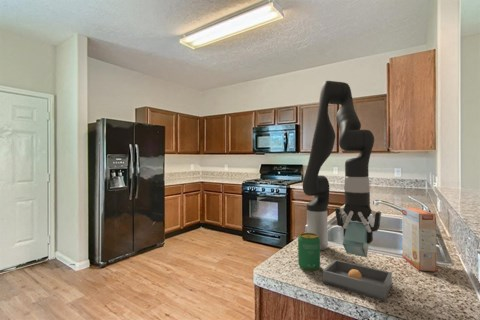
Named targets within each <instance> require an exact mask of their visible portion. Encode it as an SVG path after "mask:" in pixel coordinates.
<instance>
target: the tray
mask: <svg viewBox="0 0 480 320" xmlns="http://www.w3.org/2000/svg"><path fill="white" fill-rule="evenodd" d="M352 269H356V270H358V271H359V272H360V273H361V275H362V279H361V280H360V279H356V278H352V277H348V273H349V271H350V270H352ZM322 283H323V284H325V285H328V286H332V287H335V288H338V289H342V290H344V291H349V292H352V293H355V294H359V295H362V296H365V297H369V298H372V299H376V300H379V301H382V302H387V299H388V296H389V293H390V291H391V289H392V286H393V272H391V271H387V270H382V269H377V268H373V267H370V266H364V265H361V264H357V263H356V264H355V263H352V262H348V261H347V262H346V261H342V260H339V259H338V260H337V259H334V260H333V261H331V263H329V265H327V266H326V267H325V268H324V269H323V270H322Z"/></svg>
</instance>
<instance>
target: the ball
mask: <svg viewBox="0 0 480 320" xmlns="http://www.w3.org/2000/svg"><path fill="white" fill-rule="evenodd" d="M348 277H352V278H356V279H360V280H361V279H362V275H361V273H360V272H359V271H358V270H356V269H352V270H350V271H349V273H348Z"/></svg>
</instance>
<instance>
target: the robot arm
mask: <svg viewBox="0 0 480 320" xmlns="http://www.w3.org/2000/svg"><path fill="white" fill-rule="evenodd" d="M329 105H341V106H340V107H339V109H338V111H337V112H336V115H335V116H336V117H335V118H336V119H335V120H336V123H337V125H338V129H339V138H338V145H339V147H340V149H341V150H343V151H344V152H359V154H358V155H357V156H356V157H353V158H348V159H346V160H345V164H344V173H345V174H344V176H345V177H344V187H343V189H344V207H336V208H335V210H334V212H335V216H336V224H337V226H338V227H341V228H342V229H343V237H344V236H345V231H346V227H347V225H348V224H349V223H350V222H358V223H363V224H364V226H365V227H367V231H368V232H367V244H369V245H371V243H373V240H374V238H373V237H374V232H377V231H379V229H380V225H381V219H382V212H381V211H379V210H378V211H375V210H372V209H371V195H370V194H371V191H370V190H371V189H370V188H371V187H370V186H371V185H370V179H369V164H370V158H371V154H372V150H373V147H374V144H375V136H374V134H373V132H372V131H371V130H370V129H361V127H362V124H361V121H360V119H359V117H358V114H357V113H356V110H355V107H354V100H353V96H352V90H351V87H350V85H349V83H347V82H344V81H343V82H342V81H336V80H335V81H334V80H325V81H324V82H323V83H322V85H321V89H320V95H319V102H318V110H317V118H316V123H315V128H314V133H313V135H312V141H311V148H310V154H309V158H308V163H307V166H306V169H305V173H304V176H303V179H302V191H303V193H304V195H306V196H308V197H309V196H310V197H313V196H314V197H313V199H312V200H311V201H309V202H307V204H306V225H304V226H305V227H304V229H305V232H304V233H314V234H317V235H318V237H319V239H320V251H324V250H327V249H328V248H329V242H328V241H329V236H328V235H329V231H328V226H329V225H328V206H329V203H330V181H329V180H328V178H327V177H326V176H325V175H319V174H320V170H321V168H322V166H323V165H324V163H326V161H327V160H328V158H329V157H330V156H331V154H332V153H333V150H334V146H335V142H336V141H335V140H336V131H335V130H334V126H333V124H332V122H331V119H330V116H329ZM344 213H345V215H346V218H345V221H344V220H343V214H344ZM370 215H371V216H372V218H373V219H374V223H373V226H372V223H371V221H370V219H369V217H370Z"/></svg>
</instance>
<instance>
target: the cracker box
mask: <svg viewBox="0 0 480 320" xmlns="http://www.w3.org/2000/svg"><path fill="white" fill-rule="evenodd" d="M401 208H402V209H401V210H402V211H401V213H402V217H401V218H402V219H401V220H402V222H401V223H402V224H401V225H402V226H401V227H402V231H401V232H402V257H403V258H404V259H405V260H406V261H407V262H409V263H410V264H411V265H412V266H413V267H415V268H416V269H417V270H418V271H421V272H423V271H424V272H434V273H437V214H436V213H433V212H430V211H428V210H426V209H423V208H419V207H416V206H403V207H401Z"/></svg>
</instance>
